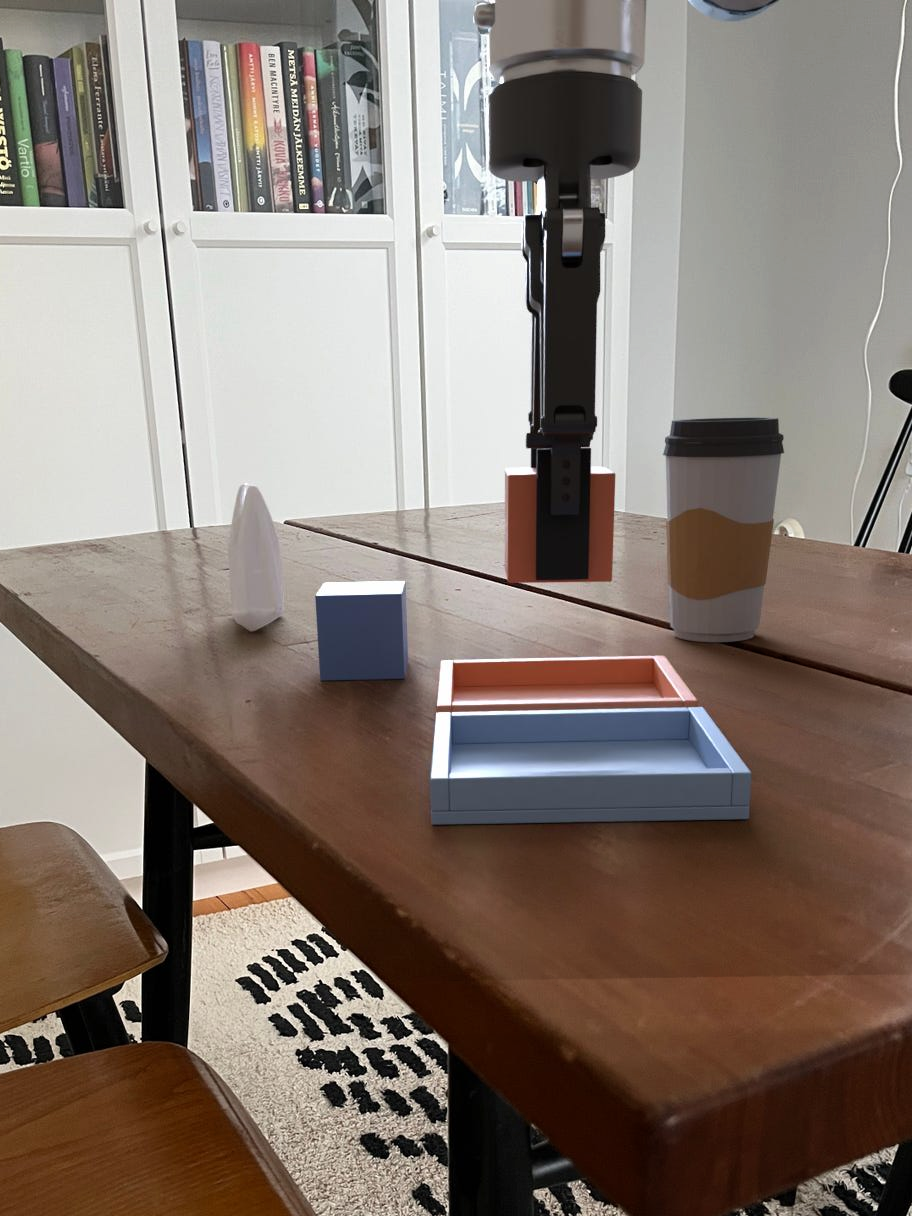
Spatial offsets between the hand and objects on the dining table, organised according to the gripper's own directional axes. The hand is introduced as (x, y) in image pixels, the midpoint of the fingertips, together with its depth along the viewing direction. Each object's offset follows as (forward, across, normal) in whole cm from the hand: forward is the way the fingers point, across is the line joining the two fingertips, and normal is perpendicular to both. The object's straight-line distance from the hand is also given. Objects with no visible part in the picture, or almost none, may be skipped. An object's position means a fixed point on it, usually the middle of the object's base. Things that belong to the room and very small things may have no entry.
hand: (557, 569), depth 69 cm
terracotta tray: (+8, 0, 0) cm, 8 cm away
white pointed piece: (+8, -32, -22) cm, 40 cm away
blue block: (+8, -13, -12) cm, 19 cm away
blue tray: (+8, +13, 0) cm, 15 cm away
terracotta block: (0, 0, 0) cm, 0 cm away
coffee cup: (+8, -23, +13) cm, 28 cm away
